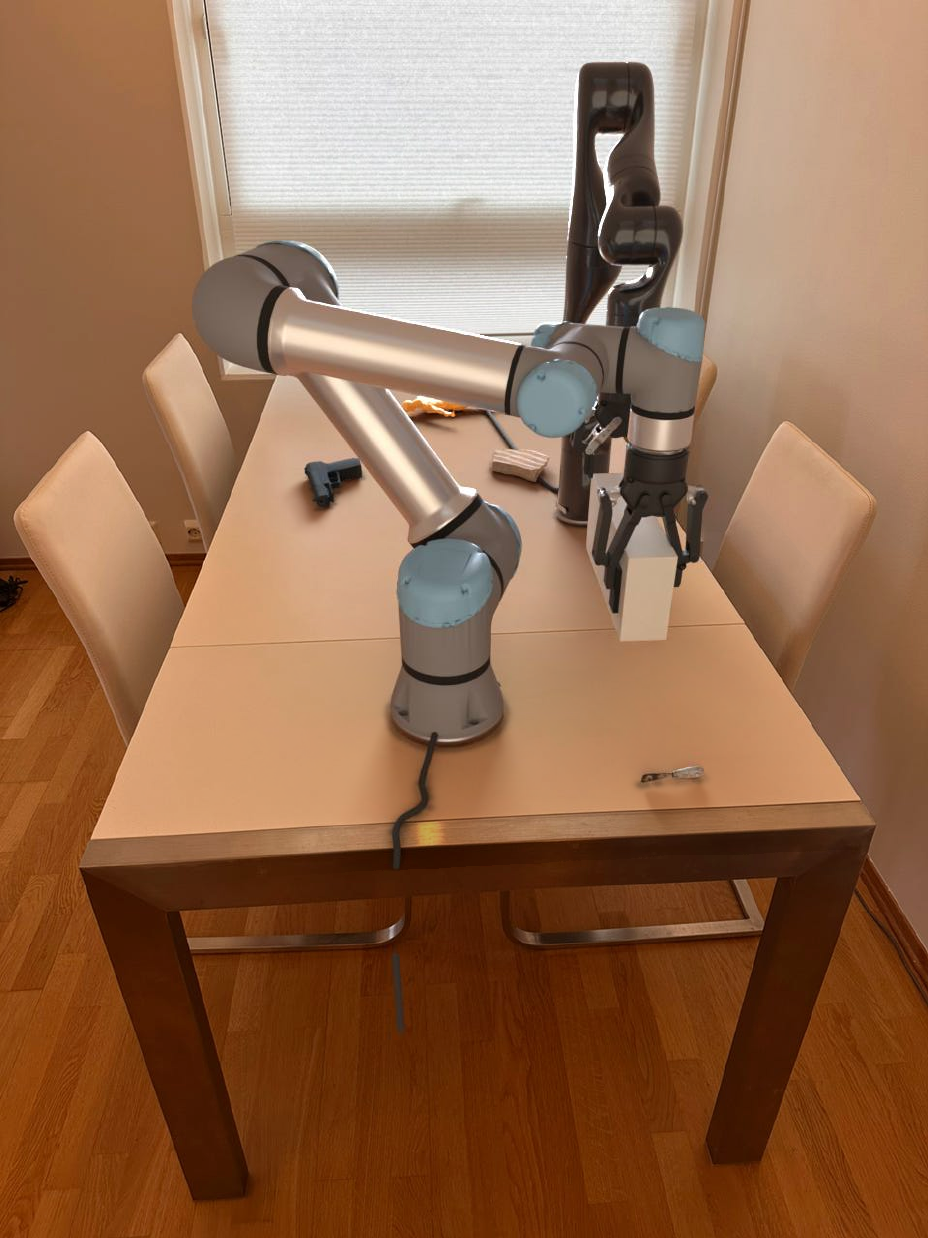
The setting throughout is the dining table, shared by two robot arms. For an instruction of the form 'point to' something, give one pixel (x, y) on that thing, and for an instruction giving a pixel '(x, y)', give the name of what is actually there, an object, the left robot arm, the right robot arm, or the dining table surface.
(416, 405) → the human figure
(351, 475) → the handgun
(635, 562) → the box
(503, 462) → the stone
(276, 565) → the dining table surface
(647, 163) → the right robot arm
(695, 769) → the putty knife
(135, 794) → the dining table surface
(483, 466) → the dining table surface
